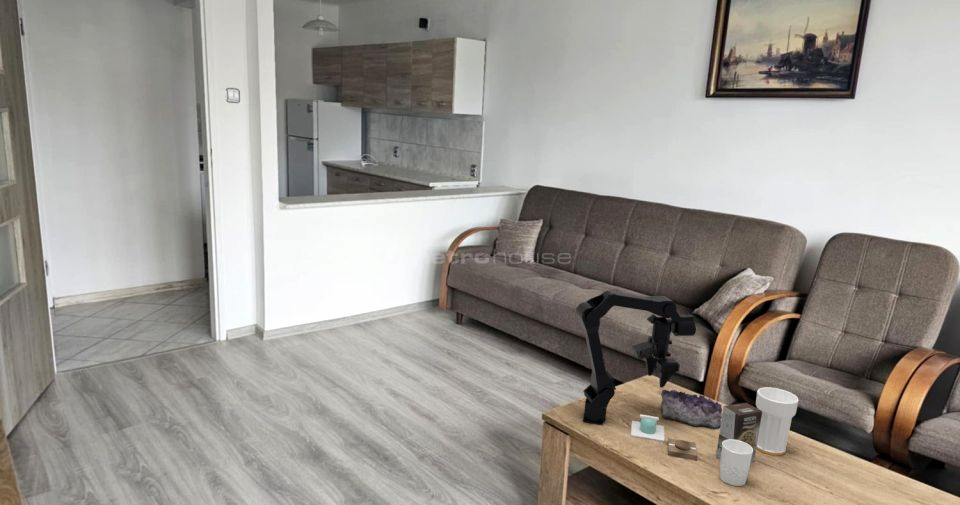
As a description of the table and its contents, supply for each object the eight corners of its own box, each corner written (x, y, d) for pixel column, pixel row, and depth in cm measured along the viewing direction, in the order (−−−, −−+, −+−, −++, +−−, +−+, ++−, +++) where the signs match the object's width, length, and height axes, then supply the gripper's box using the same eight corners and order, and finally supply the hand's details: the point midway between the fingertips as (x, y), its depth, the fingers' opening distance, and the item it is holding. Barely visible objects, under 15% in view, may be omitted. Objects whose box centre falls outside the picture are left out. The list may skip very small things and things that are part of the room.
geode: (722, 419, 210) (727, 393, 207) (718, 438, 200) (723, 411, 197) (661, 402, 218) (665, 377, 215) (654, 419, 209) (658, 393, 205)
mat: (630, 436, 195) (630, 434, 195) (631, 421, 204) (632, 420, 204) (664, 441, 192) (664, 440, 192) (663, 427, 202) (663, 426, 202)
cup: (789, 444, 195) (798, 392, 191) (789, 461, 185) (799, 406, 181) (749, 435, 199) (757, 384, 196) (748, 451, 189) (756, 397, 186)
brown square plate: (668, 455, 184) (669, 447, 184) (667, 442, 192) (668, 434, 191) (696, 460, 182) (697, 452, 182) (695, 447, 190) (696, 439, 189)
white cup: (750, 489, 169) (756, 455, 167) (719, 485, 170) (724, 451, 168) (744, 474, 177) (749, 441, 175) (715, 469, 178) (719, 437, 176)
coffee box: (730, 467, 180) (738, 415, 176) (714, 455, 186) (722, 405, 182) (755, 462, 183) (763, 411, 180) (738, 451, 189) (746, 401, 186)
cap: (638, 432, 196) (640, 418, 196) (638, 425, 201) (640, 411, 200) (656, 435, 195) (658, 421, 194) (656, 428, 200) (658, 414, 199)
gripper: (626, 326, 209) (621, 370, 212) (649, 346, 191) (643, 394, 194) (657, 326, 211) (652, 370, 214) (683, 346, 193) (677, 393, 196)
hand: (655, 381), depth 205 cm, fingers open, 9 cm apart
